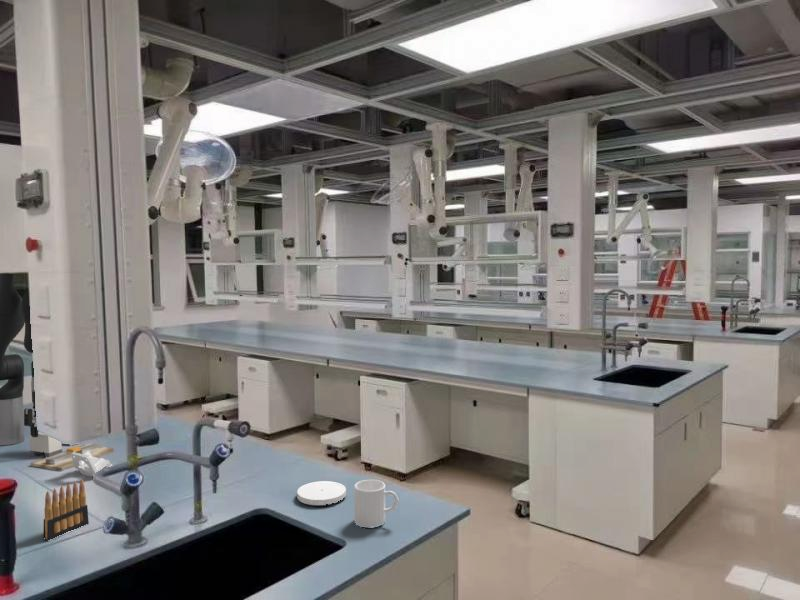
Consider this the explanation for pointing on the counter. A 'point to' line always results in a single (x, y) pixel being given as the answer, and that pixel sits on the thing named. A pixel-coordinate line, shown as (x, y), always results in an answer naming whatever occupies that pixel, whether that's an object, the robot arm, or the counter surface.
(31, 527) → the counter surface
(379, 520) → the mug
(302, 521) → the counter surface
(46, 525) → the ammunition clip
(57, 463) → the rail board
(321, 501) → the plastic lid
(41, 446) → the block
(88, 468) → the mounting bracket
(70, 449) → the block
